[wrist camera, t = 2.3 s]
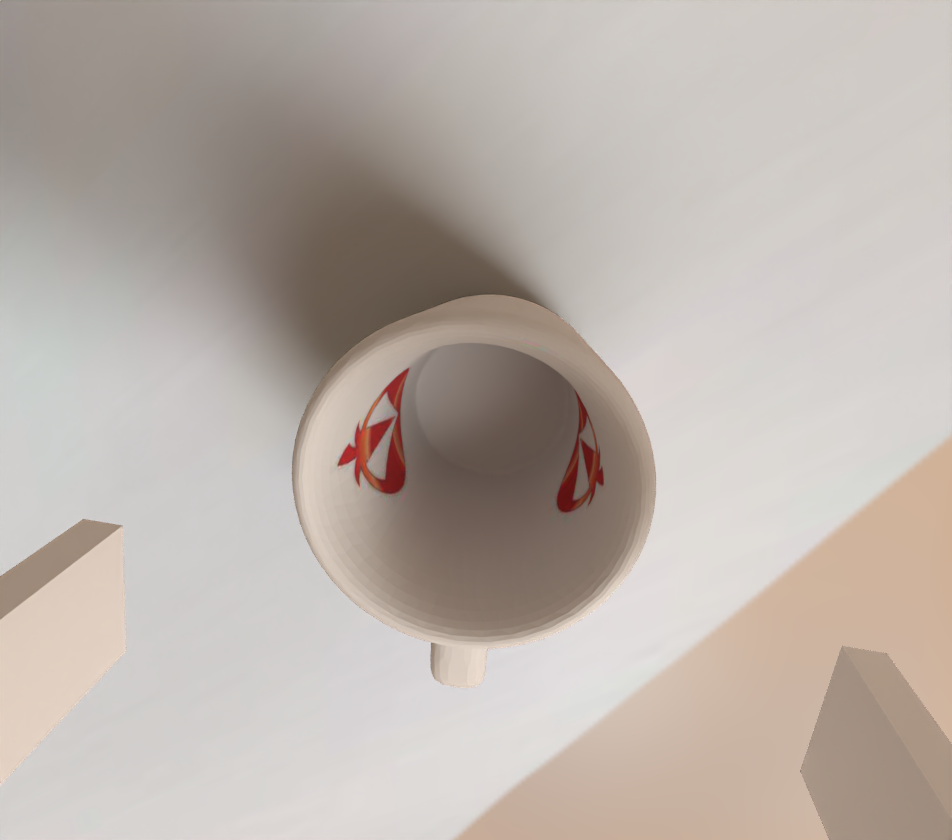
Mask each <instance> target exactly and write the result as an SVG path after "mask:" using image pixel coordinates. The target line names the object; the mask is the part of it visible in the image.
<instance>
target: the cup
mask: <svg viewBox="0 0 952 840" xmlns="http://www.w3.org/2000/svg"><path fill="white" fill-rule="evenodd" d="M292 483H293V493H294V500H295V506H296V509H297V513H298V517H299V521H300V524H301V527H302V529H303V532H304V535H305V537H306V540H307V542H308V544H309V546H310V548H311V550H312V552H313V554H314V555H315V557H316V558H317V560H318V562H319V563H320V565H321V566H322V568H323V569H324V570H325V572H326V573H327V574H328V576H329V577H330V578H331V580H332V581H333V582H334V583H335V584H336V585H337V586H338V588H339V589H340V590H341V591H342V592H343V593H344V594H345V595H346V596H347V597H349V598H350V599H351V600H352V601H353V602H354V603H355V604H356V605H358V606H359V607H360V608H361V609H363V610H364V611H365V612H367V613H368V614H370V615H371V616H373V617H375V618H376V619H378V620H379V621H381V622H382V623H384V624H386V625H388V626H390V627H392V628H394V629H396V630H398V631H400V632H402V633H404V634H407V635H410V636H412V637H415V638H417V639H421V640H424V641H428V642H431V671H432V674H433V677H434V679H435V680H437V681H438V682H440V683H441V684H443V685H448V686H453V687H459V688H471V687H475V686H477V685H479V684H480V683H481V682H482V681H483V679H484V676H485V668H486V660H487V652H488V649H493V648H504V647H511V646H516V645H522V644H526V643H530V642H533V641H537V640H540V639H544V638H546V637H548V636H551V635H553V634H556V633H558V632H560V631H563V630H565V629H566V628H568V627H570V626H572V625H573V624H575V623H577V622H579V621H581V620H582V619H583V618H585V617H586V616H588V615H589V614H590V613H592V612H593V611H594V610H596V609H597V608H598V607H599V606H600V605H602V604H603V603H604V602H605V601H606V600H607V599H608V598H609V597H610V596H611V595H612V594H613V593H614V592H615V590H616V589H617V588H618V587H619V586H620V585H621V583H622V582H623V581H624V580H625V578H626V577H627V576H628V574H629V573H630V571H631V569H632V568H633V566H634V564H635V563H636V561H637V559H638V557H639V555H640V553H641V551H642V549H643V547H644V544H645V542H646V539H647V536H648V533H649V530H650V526H651V522H652V518H653V513H654V505H655V497H656V472H655V463H654V457H653V451H652V447H651V443H650V439H649V436H648V433H647V430H646V427H645V424H644V422H643V419H642V417H641V415H640V413H639V411H638V409H637V407H636V405H635V403H634V401H633V399H632V398H631V396H630V395H629V393H628V391H627V390H626V388H625V387H624V386H623V384H622V383H621V381H620V380H619V379H618V378H617V376H616V375H615V374H614V373H613V372H612V370H611V369H610V368H609V367H608V366H607V365H606V364H605V363H604V362H603V360H602V359H601V358H600V357H599V356H598V355H597V354H596V353H595V352H594V350H593V349H592V348H591V347H590V346H589V345H588V344H587V343H586V341H585V340H584V339H583V338H582V337H581V336H580V335H579V334H578V333H577V332H576V331H575V330H574V329H573V328H572V327H571V326H570V325H569V324H568V323H567V322H565V321H564V320H563V319H561V318H560V317H559V316H557V315H556V314H554V313H553V312H551V311H549V310H548V309H546V308H544V307H542V306H540V305H538V304H535V303H533V302H530V301H527V300H524V299H520V298H517V297H512V296H506V295H493V294H488V295H475V296H468V297H462V298H459V299H455V300H452V301H449V302H446V303H443V304H440V305H438V306H435V307H433V308H430V309H427V310H425V311H422V312H419V313H417V314H414V315H411V316H409V317H406V318H403V319H401V320H398V321H396V322H393V323H391V324H389V325H387V326H385V327H383V328H381V329H379V330H377V331H376V332H374V333H372V334H371V335H369V336H368V337H366V338H365V339H363V340H362V341H360V342H359V343H358V344H356V345H355V346H354V347H353V348H351V349H350V350H349V351H348V352H347V353H346V354H345V355H344V356H343V357H341V358H340V359H339V360H338V361H337V362H336V363H335V365H334V366H333V367H332V368H331V369H330V370H329V372H328V373H327V374H326V375H325V377H324V378H323V379H322V381H321V382H320V384H319V385H318V387H317V388H316V390H315V392H314V393H313V395H312V397H311V399H310V401H309V403H308V405H307V407H306V409H305V412H304V414H303V417H302V419H301V422H300V425H299V428H298V432H297V435H296V439H295V445H294V451H293V461H292Z"/></svg>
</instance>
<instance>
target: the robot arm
mask: <svg viewBox="0 0 952 840" xmlns="http://www.w3.org/2000/svg"><path fill="white" fill-rule="evenodd" d="M125 652H126V623H125V590H124V556H123V526H122V525H116V524H110V523H104V522H98V521H92V520H86V519H83V520H81V521H80V522H78V523H77V524H75V525H74V526H73V527H71V528H70V529H68V530H67V531H65V532H64V533H62V534H61V535H60V536H58V537H57V538H55V539H54V540H52V541H51V542H49V543H48V544H46V545H45V546H44V547H42V548H41V549H39V550H38V551H36V552H35V553H33V554H32V555H31V556H29V557H28V558H26V559H25V560H23V561H22V562H20V563H19V564H18V565H16V566H15V567H13V568H12V569H10V570H9V571H7V572H6V573H5V574H3V575H2V576H0V785H1V784H2V783H3V782H4V781H5V780H6V779H7V778H8V777H9V776H10V774H11V773H12V772H13V771H14V770H15V769H16V768H17V767H18V766H19V765H20V764H21V763H22V762H23V761H24V760H25V758H26V757H27V756H28V755H29V754H30V753H31V752H32V751H33V750H34V749H35V748H36V747H37V746H38V745H39V744H40V742H41V741H42V740H43V739H44V738H45V737H46V736H47V735H48V734H49V733H50V732H51V731H52V730H53V729H54V728H55V726H56V725H57V724H58V723H59V722H60V721H61V720H62V719H63V718H64V717H65V716H66V715H67V714H68V713H69V712H70V710H71V709H72V708H73V707H74V706H75V705H76V704H77V703H78V702H79V701H80V700H81V699H82V698H83V697H84V696H85V694H86V693H87V692H88V691H89V690H90V689H91V688H92V687H93V686H94V685H95V684H96V683H97V682H98V681H99V680H100V678H101V677H102V676H103V675H104V674H105V673H106V672H107V671H108V670H109V669H110V668H111V667H112V666H113V665H114V664H115V662H116V661H117V660H118V659H119V658H120V657H121V656H122V655H123V654H124V653H125ZM800 772H801V774H802V776H803V779H804V781H805V783H806V786H807V788H808V791H809V793H810V795H811V798H812V800H813V802H814V805H815V807H816V809H817V812H818V814H819V816H820V819H821V821H822V824H823V826H824V828H825V831H826V833H827V836H828V838H829V840H952V744H951V742H950V741H949V739H948V738H947V737H946V735H945V734H944V732H943V731H942V730H941V728H940V727H939V726H938V724H937V723H936V721H935V720H934V718H933V717H932V716H931V714H930V713H929V712H928V710H927V709H926V707H925V706H924V705H923V703H922V702H921V700H920V699H919V698H918V696H917V695H916V693H915V692H914V691H913V689H912V688H911V687H910V685H909V684H908V682H907V681H906V680H905V678H904V677H903V675H902V674H901V673H900V671H899V670H898V669H897V667H896V666H895V664H894V663H893V661H892V660H891V659H890V657H889V656H888V654H887V653H881V652H875V651H869V650H863V649H857V648H851V647H845V646H842V648H841V650H840V653H839V656H838V659H837V662H836V665H835V668H834V671H833V674H832V677H831V680H830V683H829V686H828V689H827V692H826V696H825V698H824V701H823V704H822V707H821V710H820V713H819V716H818V719H817V722H816V725H815V728H814V731H813V734H812V737H811V740H810V743H809V747H808V749H807V752H806V755H805V758H804V761H803V764H802V767H801V770H800Z"/></svg>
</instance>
